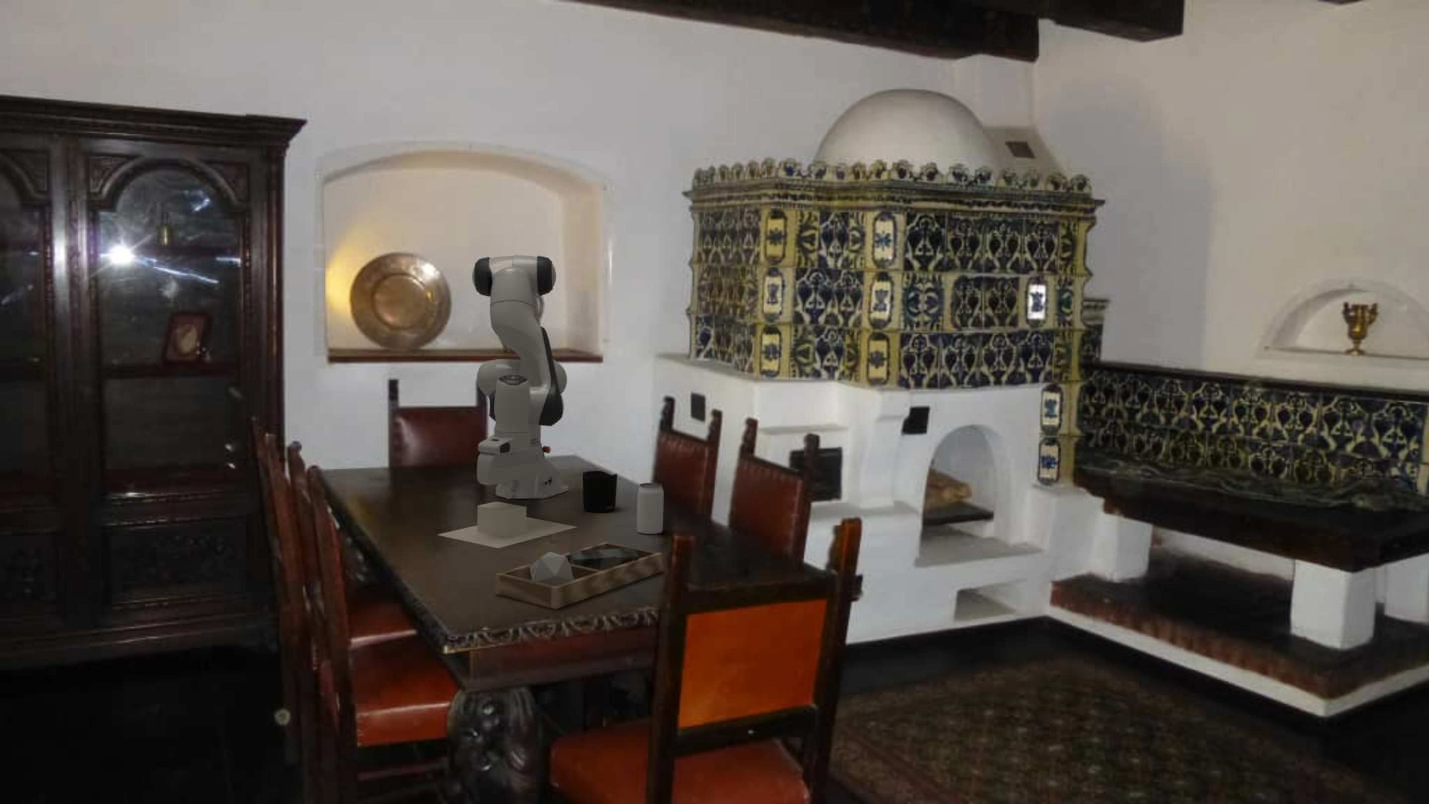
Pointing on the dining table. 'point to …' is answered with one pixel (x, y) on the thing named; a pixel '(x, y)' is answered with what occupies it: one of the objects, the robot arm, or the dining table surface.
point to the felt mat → (533, 530)
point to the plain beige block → (501, 519)
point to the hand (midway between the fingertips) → (511, 497)
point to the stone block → (602, 557)
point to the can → (650, 508)
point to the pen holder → (599, 491)
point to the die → (552, 569)
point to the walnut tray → (577, 579)
